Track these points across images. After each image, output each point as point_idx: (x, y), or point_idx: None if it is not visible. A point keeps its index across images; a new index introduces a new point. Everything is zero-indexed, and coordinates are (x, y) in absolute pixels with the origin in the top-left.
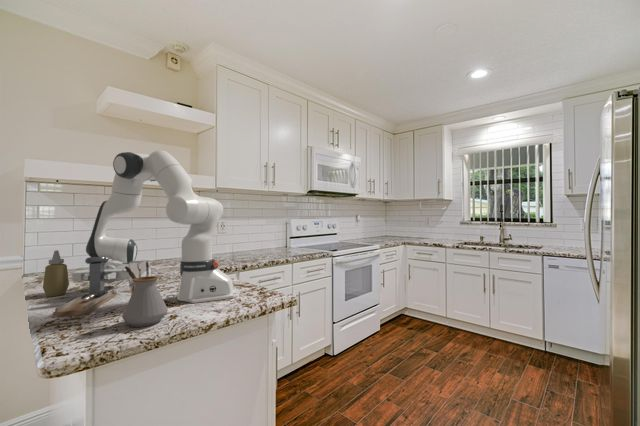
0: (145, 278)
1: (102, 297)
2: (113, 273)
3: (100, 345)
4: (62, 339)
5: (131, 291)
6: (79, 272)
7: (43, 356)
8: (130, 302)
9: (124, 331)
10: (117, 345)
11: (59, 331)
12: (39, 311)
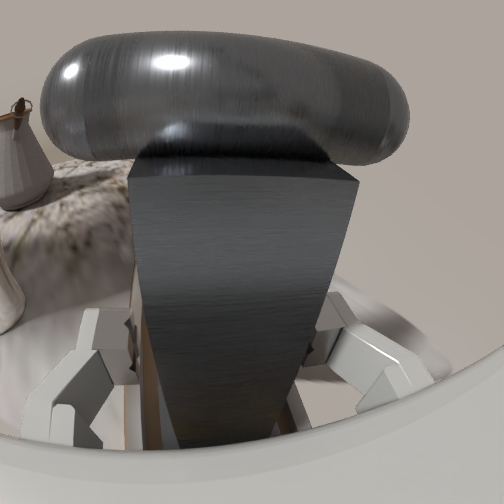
0: (7, 119)
1: None
2: (44, 384)
3: (82, 162)
4: None
5: (2, 247)
6: (494, 354)
7: None
8: (40, 146)
9: (55, 180)
10: (65, 162)
11: None
12: (348, 293)
